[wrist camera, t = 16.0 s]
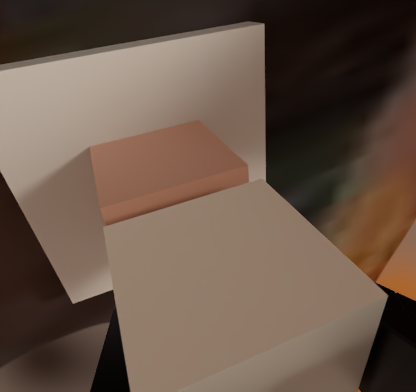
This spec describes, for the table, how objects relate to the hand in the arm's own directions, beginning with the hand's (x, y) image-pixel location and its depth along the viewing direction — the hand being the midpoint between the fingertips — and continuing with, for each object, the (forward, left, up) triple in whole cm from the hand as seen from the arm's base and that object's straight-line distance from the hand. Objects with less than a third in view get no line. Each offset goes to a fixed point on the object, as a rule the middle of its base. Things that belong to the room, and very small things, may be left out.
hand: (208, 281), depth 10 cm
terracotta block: (0, 0, -7) cm, 7 cm away
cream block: (0, 0, -1) cm, 1 cm away
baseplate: (0, 0, -8) cm, 8 cm away
